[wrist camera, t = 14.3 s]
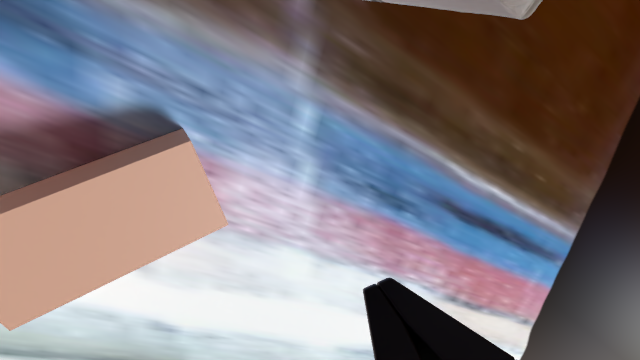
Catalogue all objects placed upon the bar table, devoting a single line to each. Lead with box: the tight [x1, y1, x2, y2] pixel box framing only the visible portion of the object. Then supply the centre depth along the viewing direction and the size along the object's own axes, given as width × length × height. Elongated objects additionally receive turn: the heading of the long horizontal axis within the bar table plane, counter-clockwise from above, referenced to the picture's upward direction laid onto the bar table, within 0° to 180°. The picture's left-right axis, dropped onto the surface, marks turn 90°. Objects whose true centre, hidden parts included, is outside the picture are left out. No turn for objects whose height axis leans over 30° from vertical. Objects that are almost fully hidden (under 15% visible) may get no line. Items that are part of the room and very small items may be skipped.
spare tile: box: [0, 128, 228, 331], centre depth 16 cm, size 2×5×10 cm
